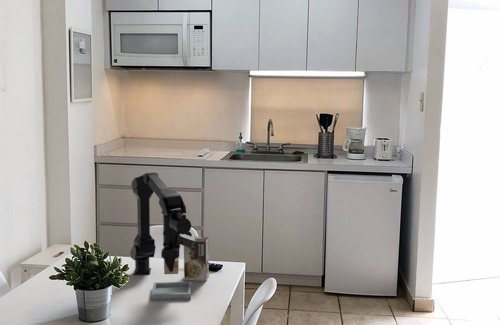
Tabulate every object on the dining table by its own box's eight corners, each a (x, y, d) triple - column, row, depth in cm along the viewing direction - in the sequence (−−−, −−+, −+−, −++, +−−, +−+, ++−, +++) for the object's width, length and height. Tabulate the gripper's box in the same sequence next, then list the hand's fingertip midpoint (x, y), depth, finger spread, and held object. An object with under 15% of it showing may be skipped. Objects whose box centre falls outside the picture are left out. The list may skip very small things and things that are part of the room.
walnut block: (164, 269, 210) (164, 256, 209) (178, 269, 210) (178, 256, 209) (164, 274, 205) (164, 260, 204) (178, 273, 205) (178, 260, 205)
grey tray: (153, 287, 214) (153, 282, 214) (191, 287, 215) (191, 281, 215) (151, 300, 202) (151, 294, 202) (190, 299, 203) (190, 293, 203)
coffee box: (209, 275, 228) (209, 236, 226) (206, 281, 222) (206, 241, 219) (186, 274, 229) (186, 235, 226) (183, 280, 223) (183, 240, 220)
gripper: (193, 234, 197) (193, 277, 199) (193, 220, 215) (193, 260, 217) (161, 235, 195) (161, 278, 198) (164, 221, 214) (164, 260, 216)
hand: (171, 269), depth 207 cm, fingers closed on walnut block, 5 cm apart
